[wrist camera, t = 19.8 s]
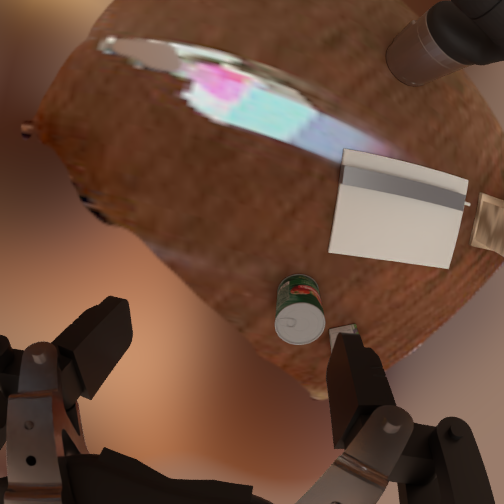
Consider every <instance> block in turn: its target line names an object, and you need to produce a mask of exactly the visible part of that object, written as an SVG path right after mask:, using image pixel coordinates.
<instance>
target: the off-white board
mask: <svg viewBox="0 0 504 504" xmlns="http://www.w3.org/2000/svg"><path fill="white" fill-rule="evenodd" d="M342 165H345V166H351V167H356V168H361V169H366V170H371V171H376V172H380V173H385V174H389V175H394V176H398V177H402V178H406V179H410V180H414V181H418V182H422V183H426V184H430V185H433V186H437V187H440V188H444V189H447V190H451V191H454V192H457V193H461V194H464V195H466V193H467V187H468V180H466V179H463V178H460V177H457V176H454V175H450V174H447V173H444V172H440V171H437V170H434V169H430V168H427V167H423V166H419V165H416V164H412V163H408V162H404V161H400V160H396V159H392V158H387V157H383V156H378V155H374V154H369V153H364V152H359V151H354V150H349V149H343V157H342ZM463 209H464V208H463ZM462 214H463V211H460V210H456V209H453V208H449V207H445V206H441V205H437V204H433V203H429V202H425V201H421V200H417V199H412V198H408V197H404V196H399V195H394V194H390V193H385V192H380V191H375V190H370V189H365V188H359V187H354V186H348V185H343V184H341V183H339V187H338V194H337V201H336V207H335V213H334V219H333V225H332V231H331V237H330V242H329V248H328V252H329V253H337V254H344V255H352V256H359V257H367V258H374V259H381V260H389V261H396V262H403V263H410V264H418V265H425V266H432V267H439V268H446V269H449V265H450V262H451V258H452V255H453V251H454V248H455V244H456V240H457V236H458V232H459V228H460V223H461V219H462Z"/></svg>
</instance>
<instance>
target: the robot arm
mask: <svg viewBox="0 0 504 504" xmlns="http://www.w3.org/2000/svg"><path fill="white" fill-rule="evenodd" d="M386 61H387V64H388V67H389V69H390V71H391V72H392V73H393V75H394V76H395V77H396V78H397V79H398V80H400V81H401V82H403V83H404V84H407V85H409V86H421V85H424V84H426V83H428V82H431V81H433V80H436V79H438V78H441V77H443V76H445V75H448V74H450V73H453V72H455V71H458V70H460V69H463V68H465V67H468V66H471V65H474V64H476V65H486V64H490V63H495V62H499V61H504V0H451V1H440V2H438V3H437V4H435V5H434V6H433V7H432V8H430V9H429V10H428V11H427V12H426V13H425V14H424V15H423V16H422V17H421V18H419V19H418V20H417V21H411V22H410V23H409V24H408V25H407V26H406V27H405V28H404V29H403V30H402V31H401V32H400V33H399V34H398V35H397V36H396V37H395V38H394V39H393V43H392V44H391V45H390V46H389V48H388V49H387V53H386ZM132 337H133V330H132V324H131V317H130V309H129V303H128V301H127V300H126V299H122V298H118V297H113V296H108V297H107V298H106V299H104V300H103V302H101V303H100V304H99V305H96V306H93V307H91V308H89V309H87V310H86V311H84V312H83V313H82V314H81V315H80V316H79V318H77V319H76V320H75V321H74V322H73V323H72V324H70V325H69V326H68V327H67V328H66V329H65V330H64V331H63V332H62V333H61V334H60V335H59V336H58V337H57V338H56V339H55V340H54V341H53V342H51V343H49V342H37V343H34V344H32V345H30V346H28V347H27V348H26V349H25V350H17V349H12V347H11V345H10V342H9V340H8V338H7V337H5V336H3V335H0V450H1V448H2V447H3V445H4V444H5V442H6V454H7V455H6V456H7V473H8V476H6V477H3V478H0V504H273V503H271V502H270V501H268V500H265V499H263V498H261V497H258V496H256V495H253V494H252V489H253V486H249V485H242V484H234V483H228V482H222V481H217V480H183V479H171V478H168V477H166V476H164V475H162V474H161V473H159V472H157V471H155V470H153V469H152V468H150V467H148V466H147V465H145V464H143V463H141V462H140V461H138V460H137V459H134V458H131V457H128V456H126V455H123V454H120V453H118V452H115V451H113V450H110V449H108V448H105V447H104V448H103V450H102V452H101V454H100V455H97V454H89V451H88V449H87V446H86V443H85V439H84V434H83V429H82V423H81V417H80V410H79V404H78V402H77V399H78V398H79V396H82V397H85V398H87V399H89V400H92V398H93V397H94V395H95V394H96V392H97V391H98V390H99V388H100V387H101V385H102V384H103V382H104V381H105V380H106V378H107V377H108V375H109V374H110V373H111V371H112V370H113V368H114V367H115V366H116V364H117V363H118V361H119V360H120V359H121V357H122V356H123V355H124V353H125V352H126V350H127V349H128V348H129V346H130V344H131V342H132ZM382 367H383V366H382V363H381V361H380V358H379V356H378V355H377V354H376V353H375V352H374V351H373V350H372V349H371V348H365V347H364V346H363V343H362V340H361V337H360V335H359V334H356V333H343V332H339V333H338V335H337V337H336V341H335V344H334V347H333V350H332V353H331V356H330V359H329V362H328V366H327V372H326V381H327V389H328V397H329V404H330V414H331V423H332V433H333V443H334V449H345V451H344V452H343V454H342V455H341V456H339V457H338V458H337V459H336V460H335V461H334V463H333V464H332V465H331V466H330V467H329V468H328V469H327V471H326V472H325V473H324V474H323V475H322V476H321V477H320V478H319V480H318V481H317V482H316V483H315V484H314V485H313V486H312V487H311V488H310V489H309V490H308V491H307V492H306V493H305V494H304V495H303V496H302V497H301V498H300V499H299V500H298V501H297V502H296V503H295V504H376V503H377V501H378V500H379V498H380V497H381V495H382V494H383V492H384V490H385V489H386V486H387V485H388V482H389V481H392V482H397V484H398V492H399V501H400V504H495V501H494V497H493V494H492V490H491V486H490V483H489V479H488V476H487V473H486V470H485V467H484V464H483V461H482V458H481V455H480V452H479V449H478V446H477V444H476V441H475V438H474V436H473V433H472V431H471V429H470V427H469V425H468V424H467V423H466V422H465V421H463V420H462V419H460V418H457V417H446V418H444V419H443V420H441V421H440V422H439V424H438V425H437V426H436V427H434V426H428V425H422V424H417V423H414V422H413V419H412V417H411V416H410V415H409V413H408V412H406V411H405V410H404V409H402V408H400V407H397V406H396V403H395V400H394V397H393V394H392V391H391V388H390V386H389V383H388V380H387V377H385V375H386V374H385V372H384V369H382Z"/></svg>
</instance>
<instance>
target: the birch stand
mask: <svg viewBox="0 0 504 504" xmlns="http://www.w3.org/2000/svg"><path fill="white" fill-rule="evenodd" d="M469 245H470V246H474V247H479V248H483V249H488V250H493V251H495V252H497V253H498V254H500V255H501V256H503V257H504V201H503V200H500V199H498V198H495V197H492V196H489V195H487V194H484V193H481V192H480V195H479V200H478V206H477V211H476V216H475V220H474V225H473V229H472V233H471V237H470V241H469Z"/></svg>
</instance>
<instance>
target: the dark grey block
mask: <svg viewBox="0 0 504 504" xmlns="http://www.w3.org/2000/svg"><path fill="white" fill-rule="evenodd" d="M339 183H341V184H343V185H348V186H354V187H359V188H365V189H370V190H375V191H380V192H385V193H390V194H394V195H399V196H404V197H408V198H412V199H417V200H421V201H425V202H429V203H433V204H437V205H441V206H445V207H449V208H453V209H456V210H460V211H463V208H464V205H467V206H470V203H467V202H465V198H466V195H464V194H461V193H457V192H454V191H451V190H447V189H444V188H440V187H437V186H433V185H430V184H426V183H422V182H418V181H414V180H410V179H406V178H402V177H398V176H394V175H389V174H385V173H380V172H376V171H371V170H366V169H361V168H356V167H351V166H345V165H341V170H340V177H339Z"/></svg>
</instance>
